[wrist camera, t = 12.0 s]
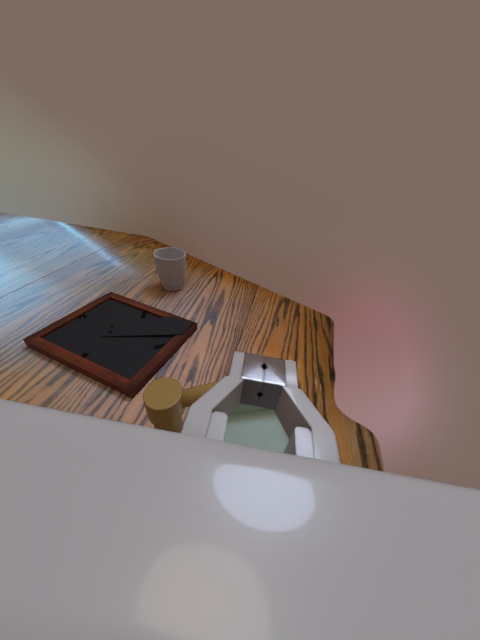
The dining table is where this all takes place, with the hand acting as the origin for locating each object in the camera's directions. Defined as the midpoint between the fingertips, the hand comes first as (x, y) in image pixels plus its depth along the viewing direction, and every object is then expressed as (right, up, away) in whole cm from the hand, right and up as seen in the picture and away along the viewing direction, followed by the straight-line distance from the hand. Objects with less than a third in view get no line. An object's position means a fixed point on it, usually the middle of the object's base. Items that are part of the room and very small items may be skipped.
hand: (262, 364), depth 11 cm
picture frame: (-26, -1, +36) cm, 45 cm away
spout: (-3, -6, +12) cm, 14 cm away
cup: (-20, +12, +54) cm, 59 cm away
